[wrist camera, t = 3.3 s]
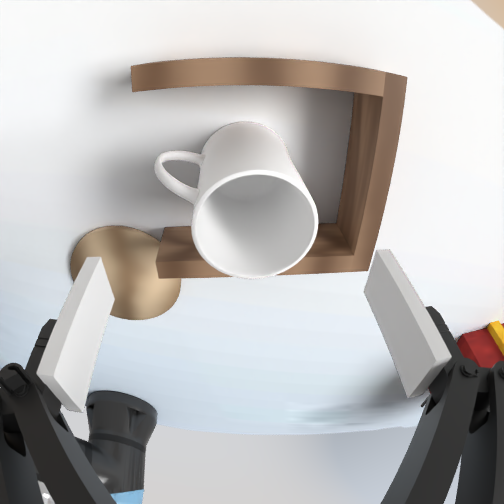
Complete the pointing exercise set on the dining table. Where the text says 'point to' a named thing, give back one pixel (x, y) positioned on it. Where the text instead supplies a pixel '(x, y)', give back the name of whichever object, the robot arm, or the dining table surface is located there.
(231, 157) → the mug
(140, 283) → the coaster
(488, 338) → the gift box
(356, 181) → the cradle
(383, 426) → the dining table surface
